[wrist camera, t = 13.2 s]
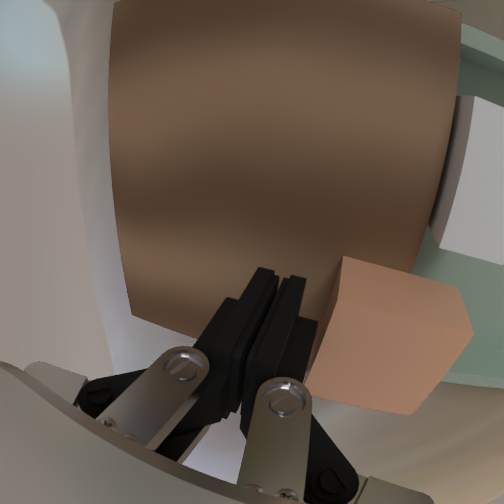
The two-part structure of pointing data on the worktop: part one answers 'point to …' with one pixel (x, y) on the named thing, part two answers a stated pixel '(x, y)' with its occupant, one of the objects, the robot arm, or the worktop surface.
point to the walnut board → (273, 143)
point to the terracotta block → (386, 338)
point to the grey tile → (472, 183)
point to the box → (463, 266)
